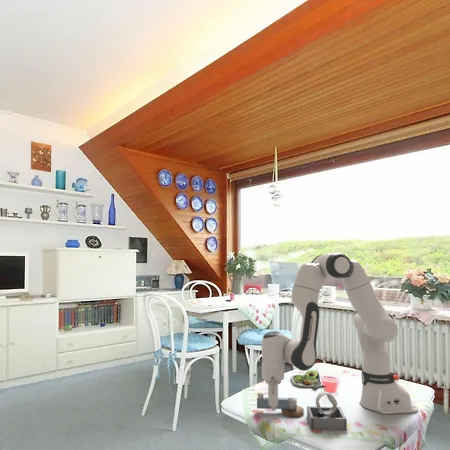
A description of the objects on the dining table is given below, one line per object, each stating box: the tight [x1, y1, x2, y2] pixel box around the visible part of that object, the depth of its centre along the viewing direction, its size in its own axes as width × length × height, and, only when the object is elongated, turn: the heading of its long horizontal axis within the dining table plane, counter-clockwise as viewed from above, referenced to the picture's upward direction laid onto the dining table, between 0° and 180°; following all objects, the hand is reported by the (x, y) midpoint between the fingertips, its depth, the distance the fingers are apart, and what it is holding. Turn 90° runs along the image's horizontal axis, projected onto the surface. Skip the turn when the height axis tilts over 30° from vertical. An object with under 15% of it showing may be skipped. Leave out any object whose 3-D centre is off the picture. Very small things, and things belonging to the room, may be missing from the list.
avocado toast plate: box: [290, 369, 322, 389], centre depth 193 cm, size 19×18×5 cm
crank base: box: [280, 405, 305, 418], centre depth 158 cm, size 9×9×2 cm
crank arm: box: [256, 391, 298, 410], centre depth 159 cm, size 16×4×6 cm, turn 85°
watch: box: [315, 391, 338, 418], centre depth 147 cm, size 6×8×11 cm
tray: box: [306, 405, 348, 431], centre depth 148 cm, size 13×11×4 cm
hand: (273, 409), depth 153 cm, fingers closed
